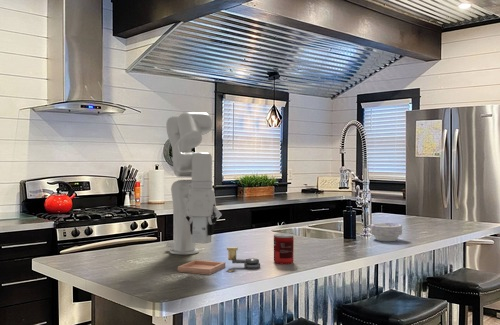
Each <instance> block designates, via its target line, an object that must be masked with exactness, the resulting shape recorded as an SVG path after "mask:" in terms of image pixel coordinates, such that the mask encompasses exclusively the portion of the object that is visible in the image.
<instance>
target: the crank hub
mask: <svg viewBox="0 0 500 325" xmlns="http://www.w3.org/2000/svg"><path fill="white" fill-rule="evenodd" d="M243 264H244V265H243V266H244V269H246V270H257V269H261V263H260V262H259V263H258V264H246V263H243Z"/></svg>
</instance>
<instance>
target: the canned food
mask: <svg viewBox="0 0 500 325" xmlns="http://www.w3.org/2000/svg"><path fill="white" fill-rule="evenodd" d="M294 244H295V243H294V234H293V233H292V234H291V233H287V232H278V233H274V234H273V262H274V264H277V265H291V264H293V263H294V247H295V246H294Z"/></svg>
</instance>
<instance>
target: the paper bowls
mask: <svg viewBox="0 0 500 325" xmlns="http://www.w3.org/2000/svg"><path fill="white" fill-rule="evenodd" d="M370 235H373V236H374V239H375V240H376V241H379V242H396V241H397V240H398V239H399V237H400V236H402V235H403V225H402V224H400V223H393V222H377V223H372V224H370Z"/></svg>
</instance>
